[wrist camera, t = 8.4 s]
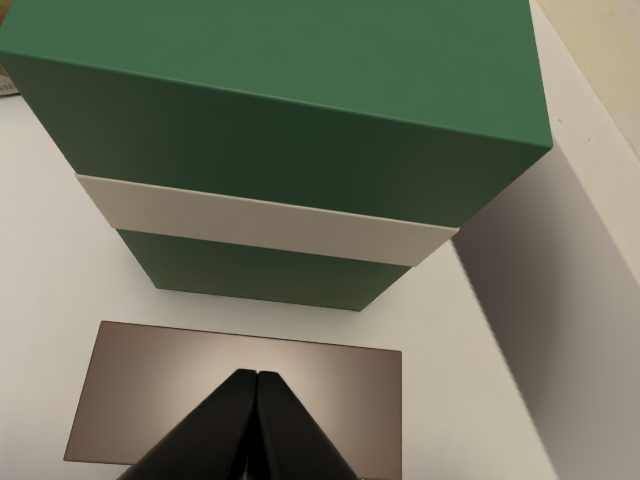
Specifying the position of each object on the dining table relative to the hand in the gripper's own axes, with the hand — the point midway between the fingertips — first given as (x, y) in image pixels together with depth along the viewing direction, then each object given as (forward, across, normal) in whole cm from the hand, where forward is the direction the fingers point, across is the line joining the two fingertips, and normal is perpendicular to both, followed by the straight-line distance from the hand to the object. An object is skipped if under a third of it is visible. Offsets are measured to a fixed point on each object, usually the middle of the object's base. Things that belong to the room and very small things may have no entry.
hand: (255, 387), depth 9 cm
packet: (+11, 0, -2) cm, 11 cm away
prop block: (+6, 0, -7) cm, 9 cm away
